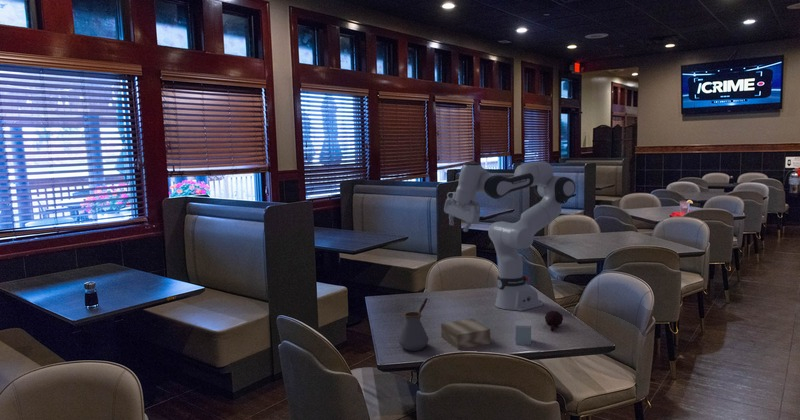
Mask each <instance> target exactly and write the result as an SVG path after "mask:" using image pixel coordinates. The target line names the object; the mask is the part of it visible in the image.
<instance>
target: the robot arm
mask: <svg viewBox="0 0 800 420" xmlns="http://www.w3.org/2000/svg"><path fill="white" fill-rule="evenodd" d="M528 187H529V188H530V187H533V191H534V194H535V195H536V196H537V197H539V198H542V199H541V200H540V201H539V202H537V203H536V204H534V205H532V206H531V207H529V208H528V209H526V210H525V211H523V212H522V213H521V214H520V219H519V220H518V221H517V222H509V221H495V222H492V223H491V224H490V226H489V228H488V230H487V231H488V237H489V239H490V241H491V242H492V243H493V246H494V249H495V253H496V256H497V266H498V267H497V271H498V273H497V282H496V283H497V284H496V285H497V294H496V299H495V304H494V306H495V307H497V308H499V309H503V310H512V311H519V312H522V311H523V312H524V311H526V310H531V309H534V308H538V307H542V306H544V301H542V300H541V299H539V295H538V294H539V293H538V292H537V290H536V289H534V288H533V287H532V286H531V285H529V284H528V283H527V282H530V281H531V278H530V277H529V276H527V275H526V276H525V275H524V274H523V269H524V268H523V267H524V266H523V265H524V264H523V263H524V262H523V258H522V256H521V255H520V253H519V252H518V250H521V249H522V250H524V249H528V248H530V247H531V246H532V244H533V242H534V240H535V238H534V236H535V235H536V234H537V233H538V232H539V231H541V230H542V229H543V228H545V227H547V226H549V225H550V224H551V223H552V222H553V221H555V220H556V219H557V218H558V217H559V215H560V214H561V213H562V204H566V203H567V202H568V201H569V200H570V199H571V198H572V197H573V196H574V194H575V192H576V183H575V182H574V180H573V179H572V178H570V177H567V176H559V175H555V174H554V168H553V166H552V165H551V164H550V163H548V162H546V161H533V162H532V161H531V162H525V163H522V164H519V165H517V167H516V168H515V170H514V174H513V176H510V177H506V176H502V175H498V174H495V173H493V172H489V171H488V170H486V169H485V168H484V167H483V166H482V165H481V163H480V162H477V161H467V162H464V163H463V165H462V167H461V169H460V172H459V175H458V185H457V187H456V190H455V191H453V192H452V191H450V192H447V194H446V197H447V198H446V199H445V202H444V207H443V211H444V213H445V214H448V220H449V221H448V224H449V226H452V227H453V226H454V225H455V221H454V218H457V219H459V220H462V221H463V222H465V224H466V225H465V226H463V228H462V231H463V232H464V233H467V232H468V231H469V228H471V226H472V225H478V224H479V222H480V217H481V205H480V204H479V203H478V202H476V195H477V192H479V193H481V194H483V195H486V196H487V197H489V198H491V199H495V200H499V199H502V198H504V197H505V196H506V195H508V194H510V193H512V192H516V191H519V190H523V189H527V188H528ZM526 281H527V282H526Z"/></svg>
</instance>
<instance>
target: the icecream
mask: <svg viewBox="0 0 800 420" xmlns="http://www.w3.org/2000/svg"><path fill="white" fill-rule="evenodd" d="M563 317H564V316H563V314H561V313H560V312H559V311H557V310H556V311H555V310H550V311H548V312H546V314H545V316H544V320H545V324H546V325H547V326H549V327H550V332H552V333H553V332H555V330H556V328H558V327H560V325H562V323H563V320H564V318H563Z"/></svg>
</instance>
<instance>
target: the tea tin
mask: <svg viewBox="0 0 800 420" xmlns="http://www.w3.org/2000/svg"><path fill="white" fill-rule="evenodd" d="M514 341H515V345H519V344H531V345H532V324H531V321H530V320H514Z"/></svg>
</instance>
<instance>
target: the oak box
mask: <svg viewBox="0 0 800 420" xmlns="http://www.w3.org/2000/svg"><path fill="white" fill-rule="evenodd" d="M440 330H441V331H440V332H441V333H440V334H441V335H440V336H441V338H442V339H443V340H444V341H446V342H447V343H448V344H450V345H451V346H452V347H454V348H455V349H456V350H462V349H468V348H472V347H473V348H474V347H479V346H484V344H485V345H488V344H491V328H489V327H487V326H485V325H484V324H483V323H481V322H479V321H477V320H476V319H474V318H466V319H462V320H455V321H454V320H453V321H449V322H443V323H440Z"/></svg>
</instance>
